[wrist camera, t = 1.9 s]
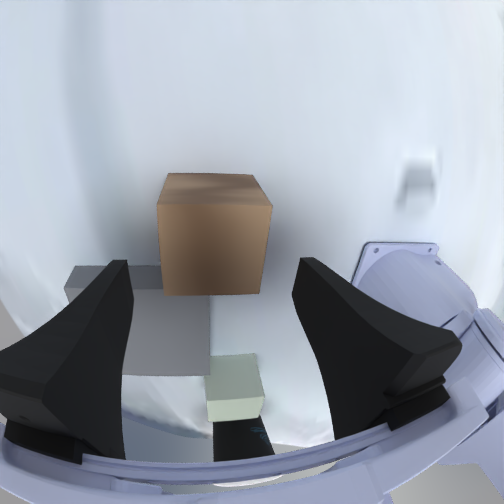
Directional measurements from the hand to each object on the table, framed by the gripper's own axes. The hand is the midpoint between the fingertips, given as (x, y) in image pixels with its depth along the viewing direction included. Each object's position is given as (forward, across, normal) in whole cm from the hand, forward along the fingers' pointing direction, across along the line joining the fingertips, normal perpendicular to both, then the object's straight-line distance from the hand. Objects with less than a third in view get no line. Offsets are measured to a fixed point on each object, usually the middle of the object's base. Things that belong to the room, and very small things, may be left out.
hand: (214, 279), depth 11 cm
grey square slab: (+7, +5, +9) cm, 13 cm away
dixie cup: (+7, -3, +25) cm, 26 cm away
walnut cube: (+7, 0, 0) cm, 7 cm away
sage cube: (+7, -2, +17) cm, 18 cm away
